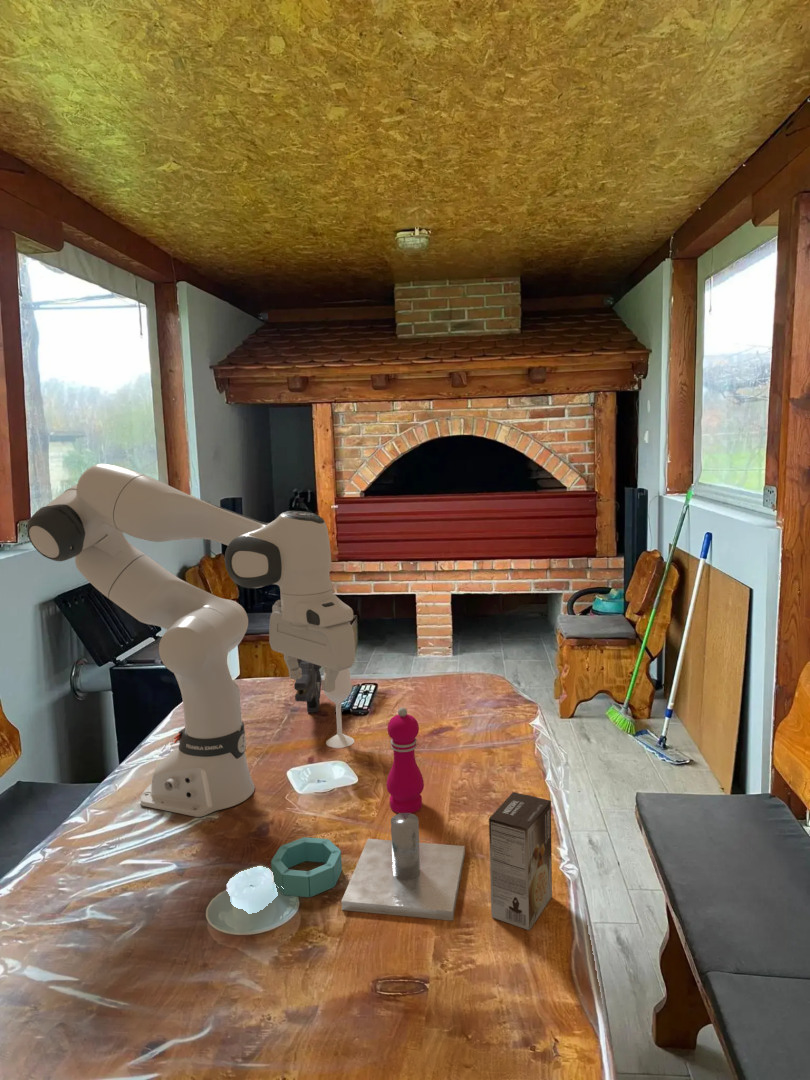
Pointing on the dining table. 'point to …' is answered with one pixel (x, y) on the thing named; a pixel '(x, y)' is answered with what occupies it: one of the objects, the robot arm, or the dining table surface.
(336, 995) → the dining table surface
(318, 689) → the gun
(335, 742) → the champagne flute
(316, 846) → the ring
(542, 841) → the coffee box
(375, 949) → the dining table surface
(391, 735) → the pepper mill
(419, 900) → the post stand
